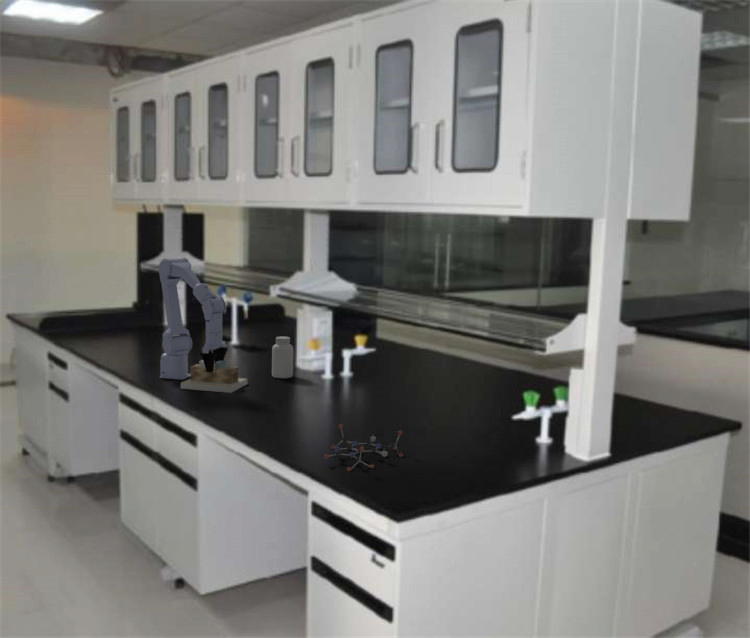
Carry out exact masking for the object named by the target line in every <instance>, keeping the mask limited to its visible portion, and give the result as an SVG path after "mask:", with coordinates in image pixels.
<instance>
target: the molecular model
mask: <svg viewBox="0 0 750 638" xmlns="http://www.w3.org/2000/svg"><path fill="white" fill-rule="evenodd" d="M343 428H344V424H342V423H340V424H338V429H340V430H341V434H342V435H341V436H342V440H341V441H340V442H339V443H336V445H334V443H332V445H330V448H331V449H332V450H334V451H333V452H335V454H331V455H329V454H328V453H327V452H325V453H324V454H323V459H324V460H327V459H329V458H330V457H334V456H335V457H339V456H349V457H350V458H351V459H352V458H354V459H356V460H355V461H356V463H355V464H354V465H352V467H346V471H347V472H351V471H352V469H353V468H354V467H355V466H356V465H357V464H358V463H362V464H363V465H365V466H367V467H369V468H370V469H374V468H375V464H373V462H371V464H370V465H369V464H367V463H365V462H364V461H362V459H361V457H362V452H363V453H364V452H365V453H366V452H371V453H374V454H375V453H377V454H379V455H381V456H382V457H383V458H385V457H388V455H389V453H388V452H387V451H386V450H385V448H384V447H383V450H382V451H380V449H381V447H382V444H381V443H380V442H377V443H376V444H374V443H372V442H376V440H377V439H376V437H377V436H374V435H372V436H370V439H367V440H366V442H358V440H356V438H354V440H353V441H351V439H350V440H349V438H348V437H347V436H346V434H345V436H344V433H343ZM401 429H402V428H400V429H399V430H397V434H398V435H397V436H398V437H397V439H396V442H394V441H391V443H390V444H389V446H390V448H392V449H393V450H395V451H396V450H397V452H398V453H397V456H398V457H399V458H403V456H404V454H403V452H402V451H399V450H398V446H397V444H398V442H399V439H400V437H401V436H402V435H403V431H404V430H403V431H402V430H401ZM341 443H347V444H348V445H347V447H343V448H340V446H338V445H340V444H341ZM358 445H359V448H354V447H357V446H358ZM363 445H367V446H371V445H372V446H373V447H372V448H371V450H365V446H363ZM347 449H348V450H349V451H350V452H349V453H348V454H347V453H346V454H345V453H342V452H341V451H340V450H347ZM351 450H352V451H351ZM354 451H355V452H354ZM399 452H400V453H399ZM356 454H357V455H358V456H356Z"/></svg>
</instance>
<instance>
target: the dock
mask: <svg viewBox="0 0 750 638" xmlns="http://www.w3.org/2000/svg"><path fill="white" fill-rule="evenodd" d="M246 385H248V378H246V377H245V378H243V377H238V381H236V382H235V383H233V384H227V383H214V382H202V381H191V378H188V379H185V380H184V381H181V382H180V389H182V390H183V389H184V390H192V391H194V390H195V391H207V392H219V393H229V394H232V393H234V392H235V391H237V390H239V389H241V388H242V387H243V388H244V387H245V386H246Z"/></svg>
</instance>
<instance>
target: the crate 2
mask: <svg viewBox="0 0 750 638" xmlns="http://www.w3.org/2000/svg"><path fill="white" fill-rule="evenodd" d="M214 365H215V368H220V369H226V368H228V367H231V361H230V360H224V361H218V362H215V361H214Z"/></svg>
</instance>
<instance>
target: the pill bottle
mask: <svg viewBox="0 0 750 638" xmlns="http://www.w3.org/2000/svg"><path fill="white" fill-rule="evenodd" d="M290 343H291V337H289V336H284V335H283V336H276V337H275V344H274V345H272V347H271V348H272V349H271V376H272V377H273V378H276V379H289V378H293V376H294V346H293V345H292V344H290Z"/></svg>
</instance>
